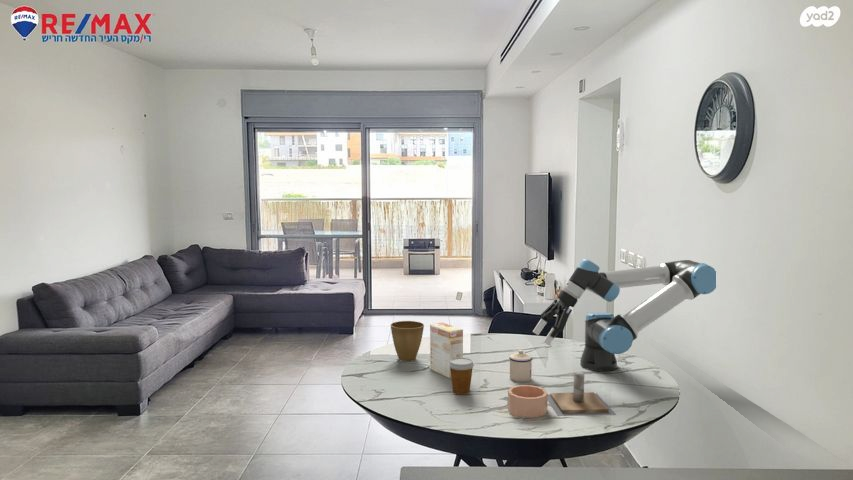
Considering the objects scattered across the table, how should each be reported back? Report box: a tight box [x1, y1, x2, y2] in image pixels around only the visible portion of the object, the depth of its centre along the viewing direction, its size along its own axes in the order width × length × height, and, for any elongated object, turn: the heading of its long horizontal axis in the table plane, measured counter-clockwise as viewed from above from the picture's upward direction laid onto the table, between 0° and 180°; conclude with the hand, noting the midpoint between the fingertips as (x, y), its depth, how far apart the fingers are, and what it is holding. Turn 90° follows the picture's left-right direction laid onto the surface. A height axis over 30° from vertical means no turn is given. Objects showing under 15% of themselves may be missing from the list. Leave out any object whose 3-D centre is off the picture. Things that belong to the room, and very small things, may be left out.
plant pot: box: [390, 320, 425, 363], centre depth 262 cm, size 15×15×16 cm
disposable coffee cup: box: [449, 357, 475, 395], centre depth 221 cm, size 10×10×12 cm
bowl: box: [507, 384, 549, 418], centre depth 202 cm, size 13×13×7 cm
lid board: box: [549, 371, 609, 413], centre depth 206 cm, size 16×16×11 cm
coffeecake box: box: [429, 322, 464, 379], centre depth 243 cm, size 15×7×20 cm, turn 32°
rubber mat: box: [548, 392, 617, 417], centre depth 207 cm, size 20×20×1 cm
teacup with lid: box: [508, 349, 533, 383], centre depth 237 cm, size 12×9×12 cm
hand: (540, 338), depth 234 cm, fingers open, 13 cm apart
